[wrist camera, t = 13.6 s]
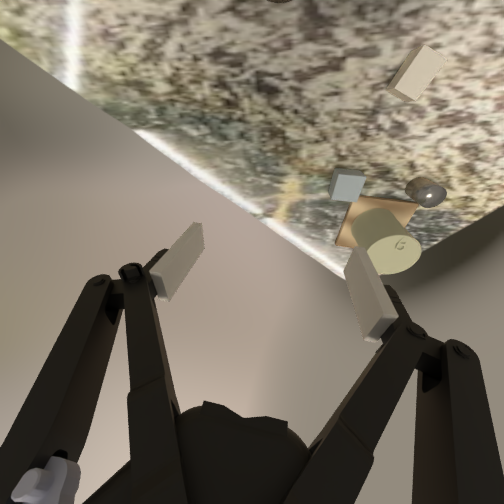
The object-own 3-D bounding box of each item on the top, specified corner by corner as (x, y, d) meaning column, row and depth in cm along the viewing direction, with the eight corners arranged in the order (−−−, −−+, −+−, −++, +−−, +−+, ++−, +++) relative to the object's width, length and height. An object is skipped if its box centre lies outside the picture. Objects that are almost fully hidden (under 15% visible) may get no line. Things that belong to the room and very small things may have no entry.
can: (404, 212, 42) (436, 242, 33) (382, 246, 48) (403, 280, 39) (362, 204, 43) (380, 231, 34) (344, 238, 49) (356, 270, 39)
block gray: (334, 167, 41) (338, 174, 37) (359, 170, 40) (366, 176, 37) (328, 191, 44) (331, 199, 40) (351, 193, 43) (356, 202, 40)
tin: (411, 176, 39) (427, 185, 35) (433, 178, 39) (452, 187, 34) (401, 195, 42) (414, 206, 37) (421, 197, 41) (437, 209, 37)
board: (353, 194, 43) (354, 196, 42) (416, 201, 42) (419, 204, 41) (334, 242, 51) (335, 245, 50) (387, 250, 50) (389, 253, 49)
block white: (411, 51, 30) (424, 44, 27) (432, 64, 30) (447, 59, 27) (384, 90, 33) (394, 88, 30) (404, 101, 33) (415, 101, 30)
